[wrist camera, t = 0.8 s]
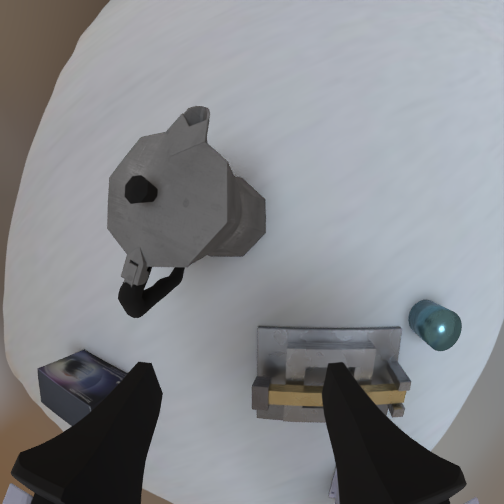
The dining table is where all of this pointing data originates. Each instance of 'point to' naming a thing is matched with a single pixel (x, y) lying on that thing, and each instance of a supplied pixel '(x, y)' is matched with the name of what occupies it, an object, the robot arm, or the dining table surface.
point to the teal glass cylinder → (435, 324)
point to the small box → (77, 385)
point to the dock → (317, 374)
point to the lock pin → (312, 394)
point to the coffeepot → (177, 208)
